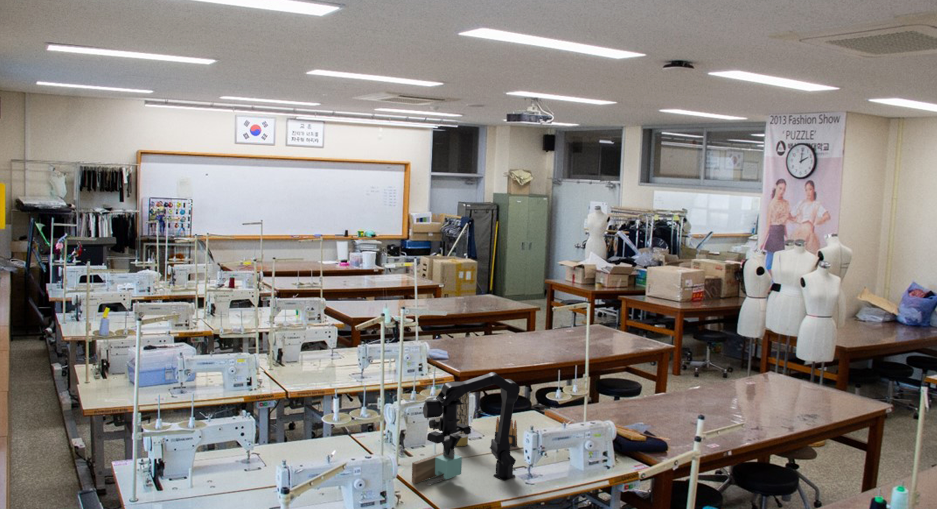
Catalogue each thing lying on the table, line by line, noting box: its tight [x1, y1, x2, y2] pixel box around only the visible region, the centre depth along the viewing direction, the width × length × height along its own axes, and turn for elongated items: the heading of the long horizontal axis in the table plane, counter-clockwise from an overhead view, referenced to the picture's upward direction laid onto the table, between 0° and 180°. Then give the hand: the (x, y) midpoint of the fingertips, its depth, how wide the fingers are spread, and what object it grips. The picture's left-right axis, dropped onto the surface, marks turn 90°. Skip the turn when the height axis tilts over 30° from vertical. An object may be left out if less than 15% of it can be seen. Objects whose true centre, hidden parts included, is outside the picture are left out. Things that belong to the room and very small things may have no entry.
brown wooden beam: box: [411, 452, 446, 486], centre depth 316 cm, size 7×20×8 cm, turn 135°
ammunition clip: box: [494, 416, 518, 448], centre depth 357 cm, size 11×2×12 cm, turn 61°
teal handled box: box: [435, 447, 463, 480], centre depth 311 cm, size 7×8×10 cm
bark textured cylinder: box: [455, 392, 470, 447], centre depth 354 cm, size 7×7×25 cm
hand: (448, 454), depth 311 cm, fingers closed on teal handled box
